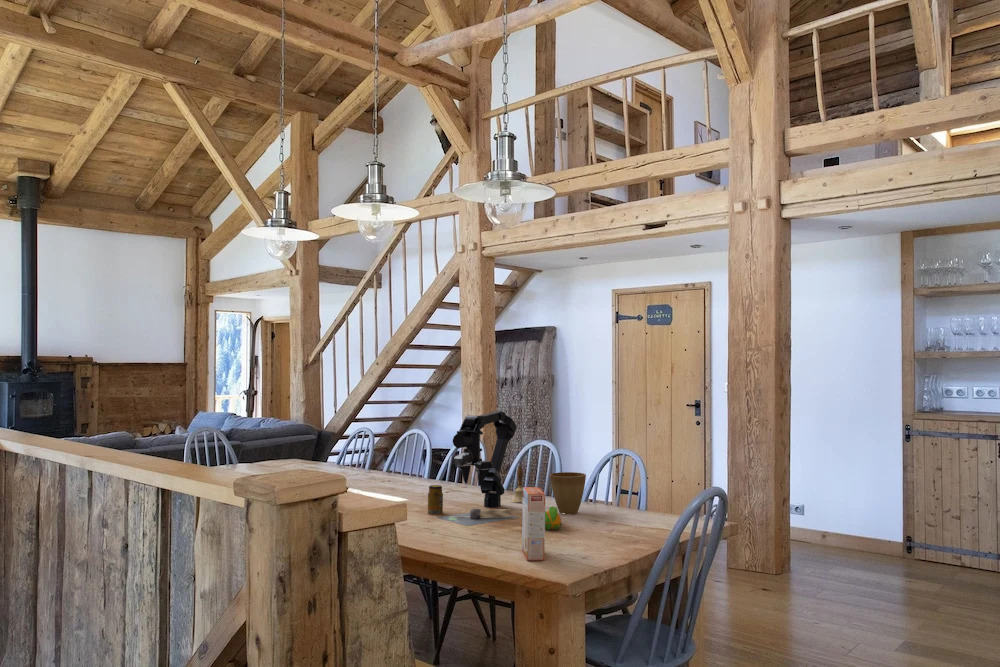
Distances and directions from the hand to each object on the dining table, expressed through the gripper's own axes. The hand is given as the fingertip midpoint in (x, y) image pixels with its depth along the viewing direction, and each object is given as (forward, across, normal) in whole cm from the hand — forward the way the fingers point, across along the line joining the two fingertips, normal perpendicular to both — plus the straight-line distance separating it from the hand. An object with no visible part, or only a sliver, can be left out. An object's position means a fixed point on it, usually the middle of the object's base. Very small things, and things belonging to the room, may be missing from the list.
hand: (472, 484), depth 311 cm
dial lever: (+11, +13, -6) cm, 18 cm away
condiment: (+12, -6, -14) cm, 20 cm away
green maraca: (+12, +38, +8) cm, 40 cm away
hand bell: (+12, -9, +34) cm, 37 cm away
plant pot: (+12, +23, +32) cm, 41 cm away
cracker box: (+12, +66, -27) cm, 72 cm away
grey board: (+12, +11, -6) cm, 17 cm away
